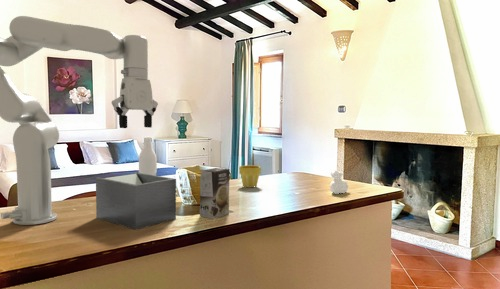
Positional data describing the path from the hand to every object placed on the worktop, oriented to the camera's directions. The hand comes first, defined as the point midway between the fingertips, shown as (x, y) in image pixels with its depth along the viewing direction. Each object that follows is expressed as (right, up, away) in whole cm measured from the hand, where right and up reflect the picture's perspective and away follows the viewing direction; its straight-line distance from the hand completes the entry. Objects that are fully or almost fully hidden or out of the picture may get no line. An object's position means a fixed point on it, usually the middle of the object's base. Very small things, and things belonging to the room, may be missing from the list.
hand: (136, 127), depth 128 cm
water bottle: (-4, -28, +30) cm, 41 cm away
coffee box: (+25, -30, +8) cm, 40 cm away
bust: (+77, -28, +51) cm, 97 cm away
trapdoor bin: (-1, -30, +3) cm, 30 cm away
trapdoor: (-4, -22, +4) cm, 23 cm away
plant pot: (+37, -26, +62) cm, 77 cm away
